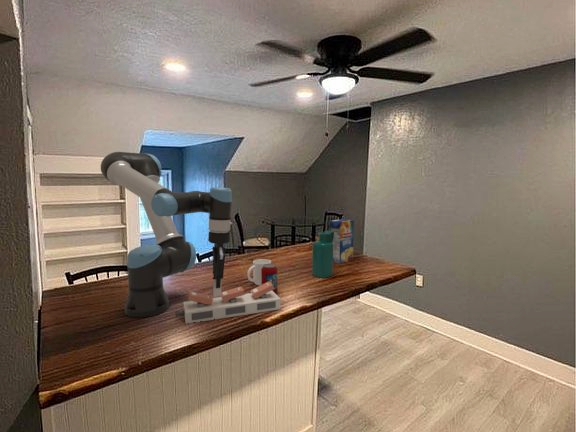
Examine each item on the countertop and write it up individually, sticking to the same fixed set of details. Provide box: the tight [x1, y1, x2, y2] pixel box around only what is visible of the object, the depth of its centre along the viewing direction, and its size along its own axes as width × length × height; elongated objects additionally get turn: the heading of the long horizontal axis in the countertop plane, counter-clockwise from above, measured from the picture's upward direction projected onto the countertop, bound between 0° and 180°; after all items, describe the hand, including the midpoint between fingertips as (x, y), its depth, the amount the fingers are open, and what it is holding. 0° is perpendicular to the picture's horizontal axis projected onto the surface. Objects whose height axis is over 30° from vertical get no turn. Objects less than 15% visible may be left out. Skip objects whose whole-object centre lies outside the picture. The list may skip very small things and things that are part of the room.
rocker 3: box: [250, 282, 274, 299], centre depth 123 cm, size 8×5×2 cm, turn 111°
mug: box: [246, 258, 272, 286], centre depth 150 cm, size 12×8×10 cm
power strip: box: [174, 291, 282, 325], centre depth 119 cm, size 37×10×5 cm, turn 111°
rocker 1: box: [187, 290, 213, 305], centre depth 115 cm, size 8×5×2 cm, turn 111°
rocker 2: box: [220, 286, 246, 301], centre depth 119 cm, size 8×5×2 cm, turn 111°
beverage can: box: [261, 263, 278, 294], centre depth 138 cm, size 7×7×12 cm
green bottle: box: [311, 230, 334, 279], centre depth 162 cm, size 10×8×22 cm
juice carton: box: [329, 218, 355, 265], centre depth 189 cm, size 12×8×24 cm, turn 130°
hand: (217, 295), depth 117 cm, fingers closed
